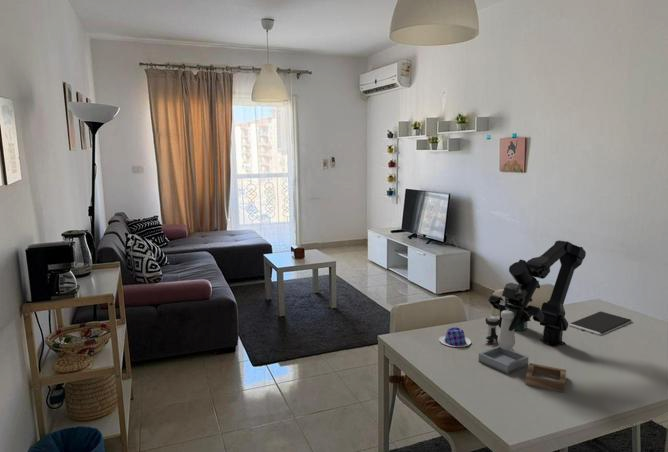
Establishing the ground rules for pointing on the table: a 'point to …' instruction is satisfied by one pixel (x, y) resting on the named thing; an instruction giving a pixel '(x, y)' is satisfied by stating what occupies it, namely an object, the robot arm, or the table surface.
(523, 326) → the coffee jar
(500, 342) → the salt shaker
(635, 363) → the table surface
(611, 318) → the dark flat slab
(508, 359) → the grey tray
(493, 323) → the push button
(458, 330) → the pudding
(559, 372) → the walnut socket
